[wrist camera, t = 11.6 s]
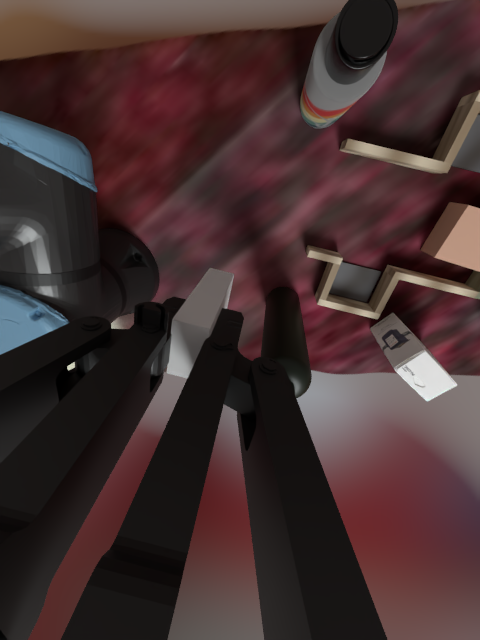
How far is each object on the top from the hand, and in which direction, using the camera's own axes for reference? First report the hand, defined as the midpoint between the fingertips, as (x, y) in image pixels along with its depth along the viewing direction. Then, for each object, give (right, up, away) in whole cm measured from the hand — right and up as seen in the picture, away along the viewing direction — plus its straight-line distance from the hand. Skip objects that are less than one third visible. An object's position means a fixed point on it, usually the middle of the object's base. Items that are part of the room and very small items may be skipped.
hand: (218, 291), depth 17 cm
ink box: (+29, -4, +32) cm, 43 cm away
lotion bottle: (+12, +26, +18) cm, 34 cm away
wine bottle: (+9, +2, +32) cm, 33 cm away
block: (+33, +11, +23) cm, 42 cm away
